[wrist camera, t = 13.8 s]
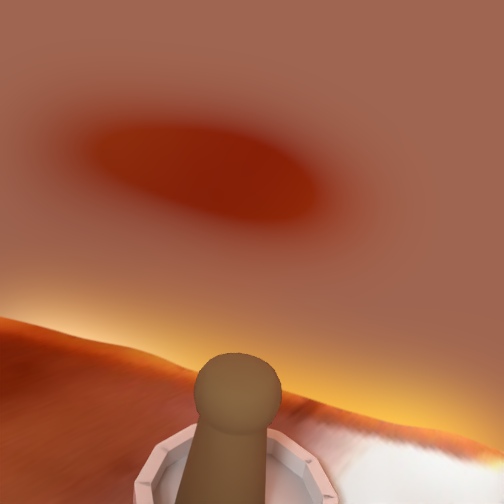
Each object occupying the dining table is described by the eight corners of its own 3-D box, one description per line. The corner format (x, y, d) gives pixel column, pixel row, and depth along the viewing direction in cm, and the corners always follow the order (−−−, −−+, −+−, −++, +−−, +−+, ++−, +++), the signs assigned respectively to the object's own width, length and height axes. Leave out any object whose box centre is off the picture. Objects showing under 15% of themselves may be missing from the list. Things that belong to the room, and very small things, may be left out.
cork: (244, 463, 36) (266, 335, 32) (280, 534, 31) (312, 392, 27) (163, 481, 33) (177, 344, 29) (189, 562, 28) (209, 409, 24)
